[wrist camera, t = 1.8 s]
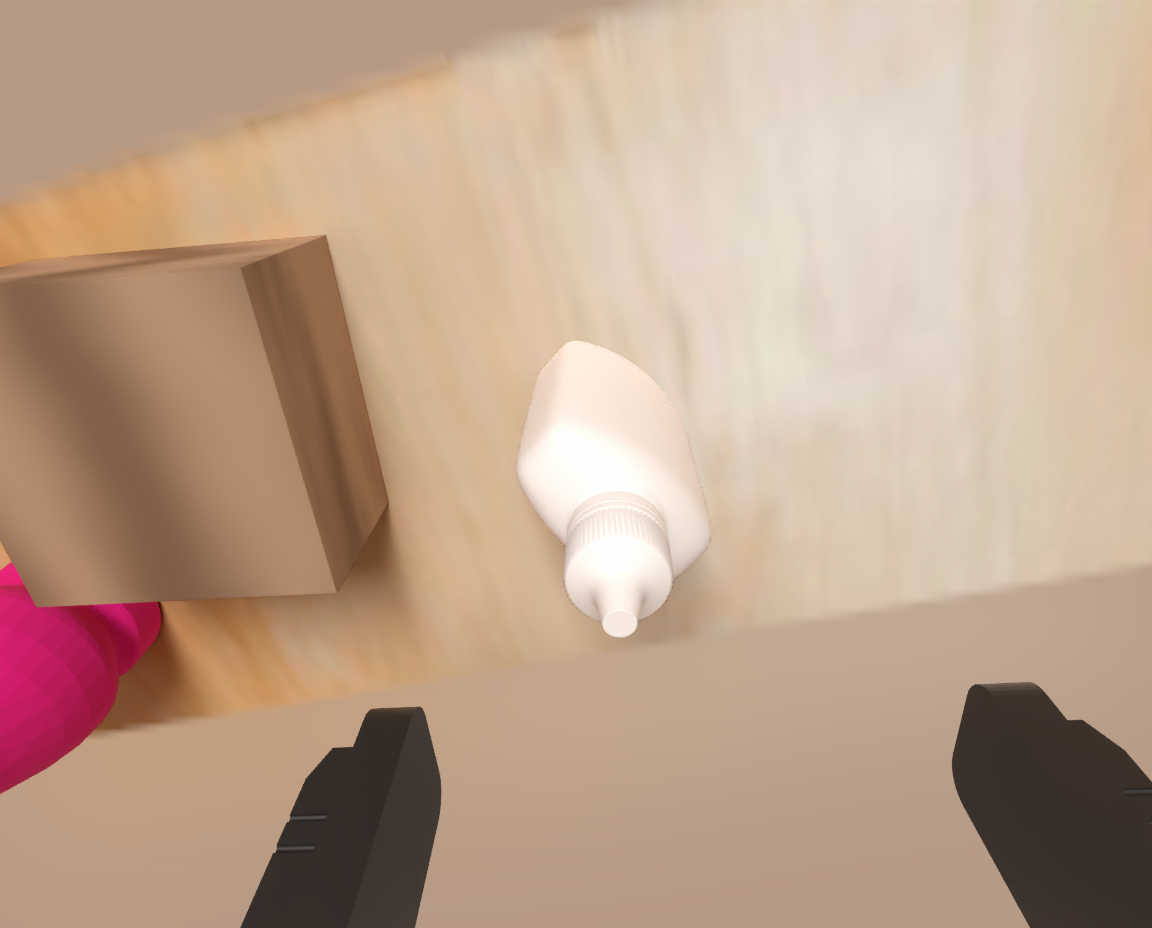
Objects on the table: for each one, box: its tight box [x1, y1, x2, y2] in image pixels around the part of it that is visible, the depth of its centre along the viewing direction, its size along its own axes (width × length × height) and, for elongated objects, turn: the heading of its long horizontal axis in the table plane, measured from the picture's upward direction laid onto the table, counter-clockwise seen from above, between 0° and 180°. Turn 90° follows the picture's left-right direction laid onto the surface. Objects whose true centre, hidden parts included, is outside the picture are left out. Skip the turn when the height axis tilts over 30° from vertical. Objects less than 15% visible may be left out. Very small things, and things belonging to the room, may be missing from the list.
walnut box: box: [0, 235, 389, 607], centre depth 22 cm, size 10×10×6 cm
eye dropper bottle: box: [516, 341, 711, 638], centre depth 19 cm, size 4×6×12 cm
